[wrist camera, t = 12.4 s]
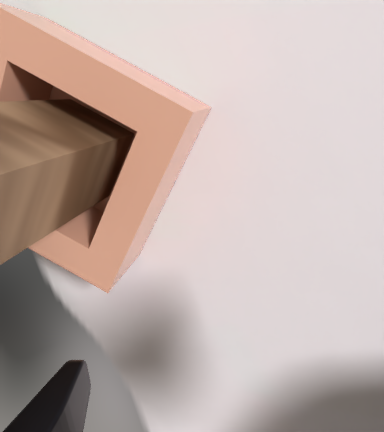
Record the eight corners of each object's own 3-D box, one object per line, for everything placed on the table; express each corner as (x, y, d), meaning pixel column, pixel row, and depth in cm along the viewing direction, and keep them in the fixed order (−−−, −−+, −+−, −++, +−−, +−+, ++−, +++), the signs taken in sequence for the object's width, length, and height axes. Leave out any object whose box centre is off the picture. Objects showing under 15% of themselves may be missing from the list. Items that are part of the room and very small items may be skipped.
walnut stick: (134, 133, 19) (-63, 193, 8) (109, 195, 20) (-85, 318, 9) (70, 99, 19) (-212, 110, 8) (50, 163, 21) (-209, 246, 10)
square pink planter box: (211, 107, 18) (183, 114, 12) (139, 255, 22) (93, 311, 16) (45, 17, 18) (-55, -15, 13) (3, 178, 22) (-88, 208, 17)
